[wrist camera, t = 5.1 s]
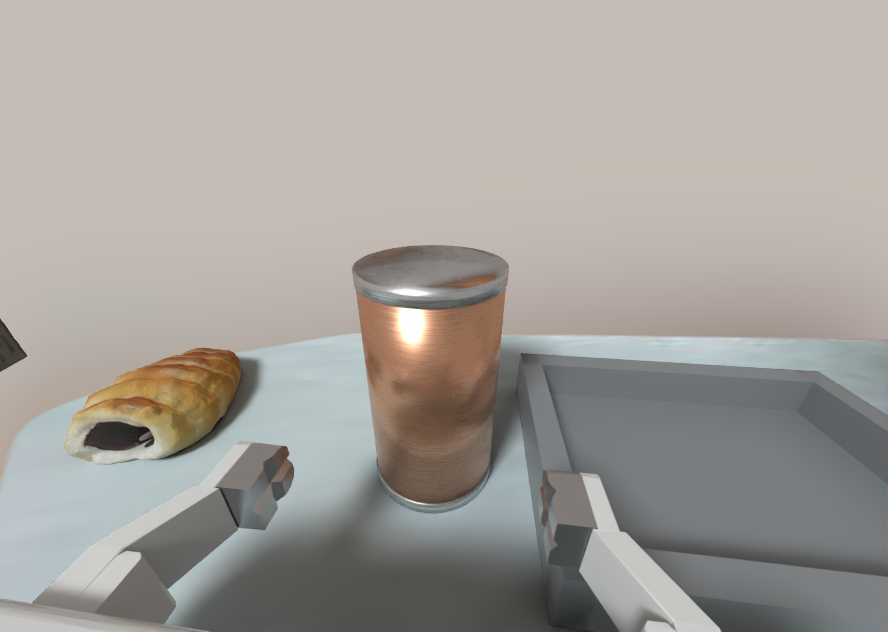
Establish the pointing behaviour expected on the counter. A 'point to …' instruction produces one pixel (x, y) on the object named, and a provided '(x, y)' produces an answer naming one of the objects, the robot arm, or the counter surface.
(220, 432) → the counter surface
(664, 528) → the tray
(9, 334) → the beverage carton
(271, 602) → the counter surface
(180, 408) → the pastry
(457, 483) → the tin can
